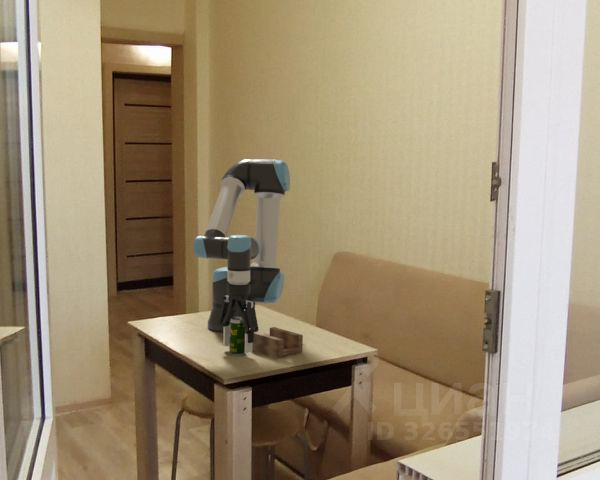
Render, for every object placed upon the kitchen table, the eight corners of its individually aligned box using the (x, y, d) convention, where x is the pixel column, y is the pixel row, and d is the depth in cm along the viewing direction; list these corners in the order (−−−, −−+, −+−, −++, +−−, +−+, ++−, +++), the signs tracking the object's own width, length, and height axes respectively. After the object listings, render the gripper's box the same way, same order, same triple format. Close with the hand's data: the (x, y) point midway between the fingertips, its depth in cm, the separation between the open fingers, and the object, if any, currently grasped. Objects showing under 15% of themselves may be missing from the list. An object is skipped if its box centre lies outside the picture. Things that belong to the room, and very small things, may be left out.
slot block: (250, 349, 233) (250, 332, 232) (273, 343, 241) (273, 327, 240) (278, 358, 223) (279, 340, 223) (302, 352, 231) (302, 334, 231)
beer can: (237, 350, 231) (238, 315, 230) (249, 353, 228) (249, 318, 227) (226, 353, 227) (226, 318, 226) (237, 357, 224) (238, 321, 222)
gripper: (207, 278, 230) (207, 343, 233) (253, 289, 214) (252, 358, 217) (225, 276, 235) (224, 339, 238) (270, 286, 220) (269, 353, 222)
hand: (237, 348), depth 227 cm, fingers open, 10 cm apart
